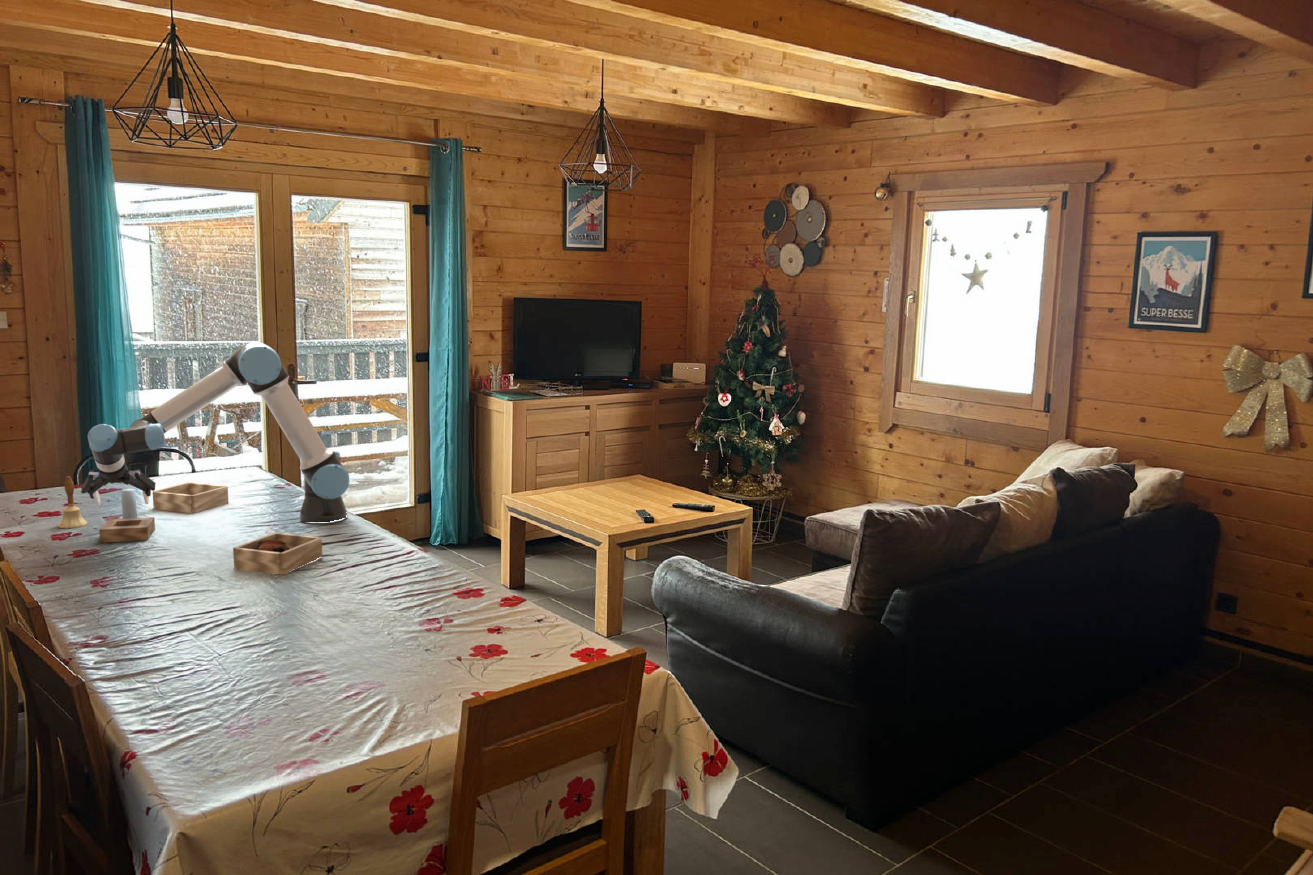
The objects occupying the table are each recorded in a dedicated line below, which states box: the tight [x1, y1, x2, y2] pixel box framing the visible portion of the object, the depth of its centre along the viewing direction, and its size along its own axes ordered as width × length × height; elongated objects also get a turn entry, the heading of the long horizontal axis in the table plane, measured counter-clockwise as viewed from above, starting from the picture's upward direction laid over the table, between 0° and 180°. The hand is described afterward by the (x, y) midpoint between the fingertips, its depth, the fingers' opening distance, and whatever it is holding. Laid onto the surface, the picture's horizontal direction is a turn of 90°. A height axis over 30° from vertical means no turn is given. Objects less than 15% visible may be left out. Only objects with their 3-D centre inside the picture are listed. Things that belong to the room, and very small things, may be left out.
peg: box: [120, 488, 138, 519], centre depth 309 cm, size 4×4×12 cm
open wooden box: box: [232, 532, 323, 575], centre depth 275 cm, size 16×18×6 cm
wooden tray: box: [152, 482, 229, 514], centre depth 339 cm, size 17×17×6 cm
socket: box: [98, 516, 156, 543], centre depth 299 cm, size 13×13×4 cm
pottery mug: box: [255, 540, 290, 553], centre depth 274 cm, size 12×10×8 cm
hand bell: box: [57, 475, 89, 529], centre depth 309 cm, size 8×8×16 cm
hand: (123, 501), depth 305 cm, fingers open, 13 cm apart
